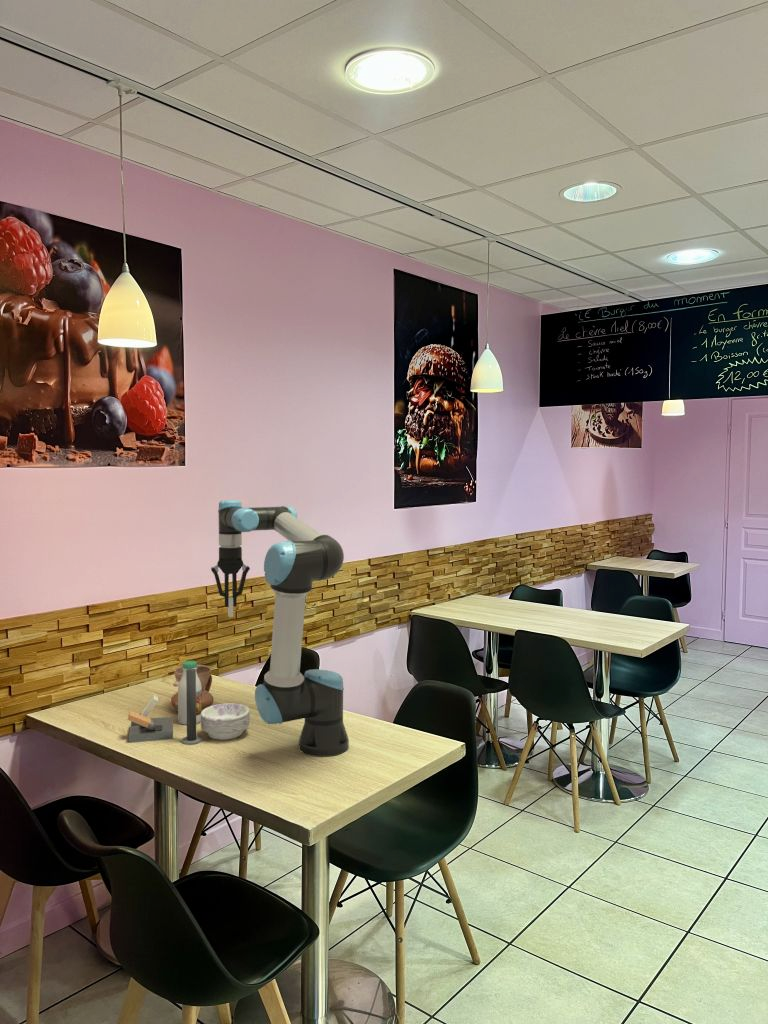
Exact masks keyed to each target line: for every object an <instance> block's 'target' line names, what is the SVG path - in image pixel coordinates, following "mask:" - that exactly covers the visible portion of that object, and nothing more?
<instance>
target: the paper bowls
mask: <svg viewBox="0 0 768 1024" xmlns="http://www.w3.org/2000/svg"><path fill="white" fill-rule="evenodd" d="M250 712H251V711H250V708H249V706H247V705H244V704H242V703H241V704H240V703H233V702H231V703H230V702H229V703H217V704H212V705H211V706H210V707H207V708H205V709H204V710H202V712H201V722H200V729H201V730H202V731H204V732H206V733H207V735H208V736H209V737H210V738H211V739H212V740H213V739H214V740H220V741H228V740H232V739H236V738H238V737H240V736H241V735H242V734H243V733H244V730H246V729H247V728H249V727H250V726H251V725H250V724H251V714H250Z"/></svg>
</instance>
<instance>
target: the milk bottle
mask: <svg viewBox="0 0 768 1024" xmlns="http://www.w3.org/2000/svg"><path fill="white" fill-rule="evenodd" d="M197 665H198V662H197V661H195V660H185V661H183V662H182V666H183V675H182V678H181V680H180V682H179V686H177V690H178V691H177V692H178V710H177V714H178V715H177V721H178V723H179V724H181V725H185V726H187V691H186V670H188V669H195V670H196V669H197ZM202 711H203V710H202V686H201V682H200V679H199V677H198V675H197V672H196V725H197V724H199V723H201V712H202Z"/></svg>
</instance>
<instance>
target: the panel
mask: <svg viewBox="0 0 768 1024" xmlns="http://www.w3.org/2000/svg"><path fill="white" fill-rule="evenodd" d="M149 719H154V720H155V728H154V729H153V730H149V729H148V728H147V727H144V726H142V725H139V724H137V723H134V722H132V721H130V726H129V727H130V728H129V733H128V741H129V742H128V743H140V742H152V741H153V742H154V741H164V740H166V741H167V740H173V739H174V716H164V717H153V718H152V717H151V718H149Z"/></svg>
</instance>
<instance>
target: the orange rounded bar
mask: <svg viewBox="0 0 768 1024" xmlns="http://www.w3.org/2000/svg"><path fill="white" fill-rule="evenodd" d="M127 721H130V722H131V721H132V722H134V723H137V724H139V725H142V726H144V727H147V728H148V729H149V730H153V729H154V728H155V720H154V719H150V718H149V717H148V716H147V717H144V716H142V715H140V713H137V712H134V711H132V710H130V711H129V712H128V714H127Z"/></svg>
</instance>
